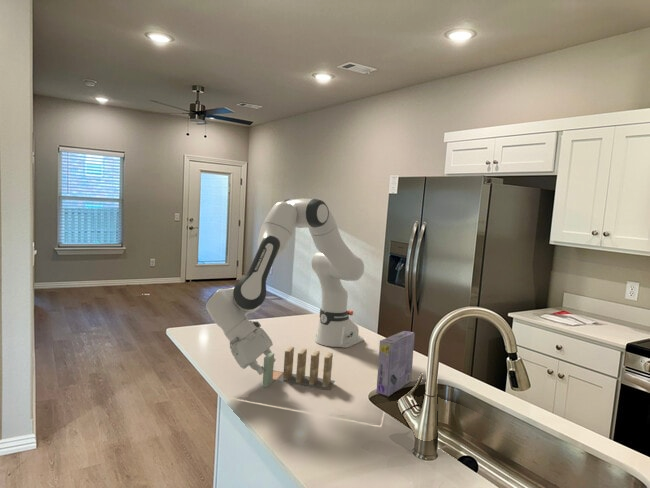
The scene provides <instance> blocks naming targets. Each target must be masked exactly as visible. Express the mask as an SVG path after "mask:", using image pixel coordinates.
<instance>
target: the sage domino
mask: <svg viewBox="0 0 650 488" xmlns="http://www.w3.org/2000/svg"><path fill="white" fill-rule="evenodd" d="M274 358H275V352H272V353H269V354H268V355H264V357H263V368H264V369H265V372H264V373H262V386H261V387H264V388H268V387H269V386H270V385H271V384H272V383H273V382H274V381H273V371H274V368H275V367H274V366H275V362H274Z"/></svg>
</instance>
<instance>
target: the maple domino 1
mask: <svg viewBox="0 0 650 488" xmlns="http://www.w3.org/2000/svg"><path fill="white" fill-rule="evenodd" d="M294 352H295V347H294V346H289V347H287V348H286V349H285V351H284V359H283V361H284V362H283V372H284V373H283V380H284V381H288V380H289V379H290V378H291V376H292V374H293V373H294V372H293V371H294V370H293V369H294V368H293V367H294V356H295V355H294Z"/></svg>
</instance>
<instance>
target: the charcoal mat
mask: <svg viewBox="0 0 650 488" xmlns="http://www.w3.org/2000/svg"><path fill="white" fill-rule="evenodd" d="M283 373H284V371H279V370H273V381H272V382H279V383H285V384H290V385H297V386H300V387H301V386H303V387H308V388H313V389H317V390H318V389H319V390H325V391H331V389H332V387H333V386H334V383H335V382H336V381H335V380H333V379H331V382H330V384H329V386H328V387H327V388H325V387H322V385H323V378H321V377H318V380H317V381H316V383H315V385H314V386H313V385H309V379H310V375H305V378H304V379H303V381H302V382H301V383H296V374H297V373H292V376H291V378H290V379H289V380H288V381H284V380H283Z"/></svg>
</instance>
